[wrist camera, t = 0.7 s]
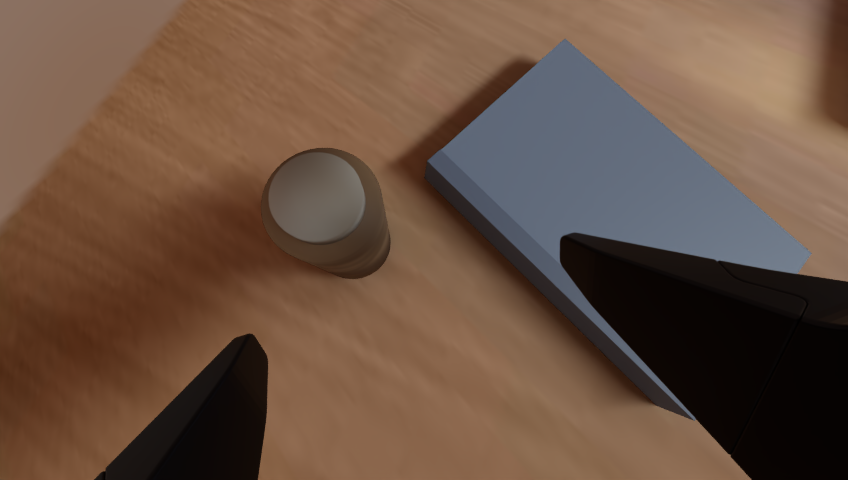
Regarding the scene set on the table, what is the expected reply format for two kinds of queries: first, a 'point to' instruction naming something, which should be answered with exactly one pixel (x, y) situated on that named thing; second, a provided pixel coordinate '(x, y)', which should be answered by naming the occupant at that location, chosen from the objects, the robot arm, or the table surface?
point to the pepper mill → (327, 212)
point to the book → (596, 191)
